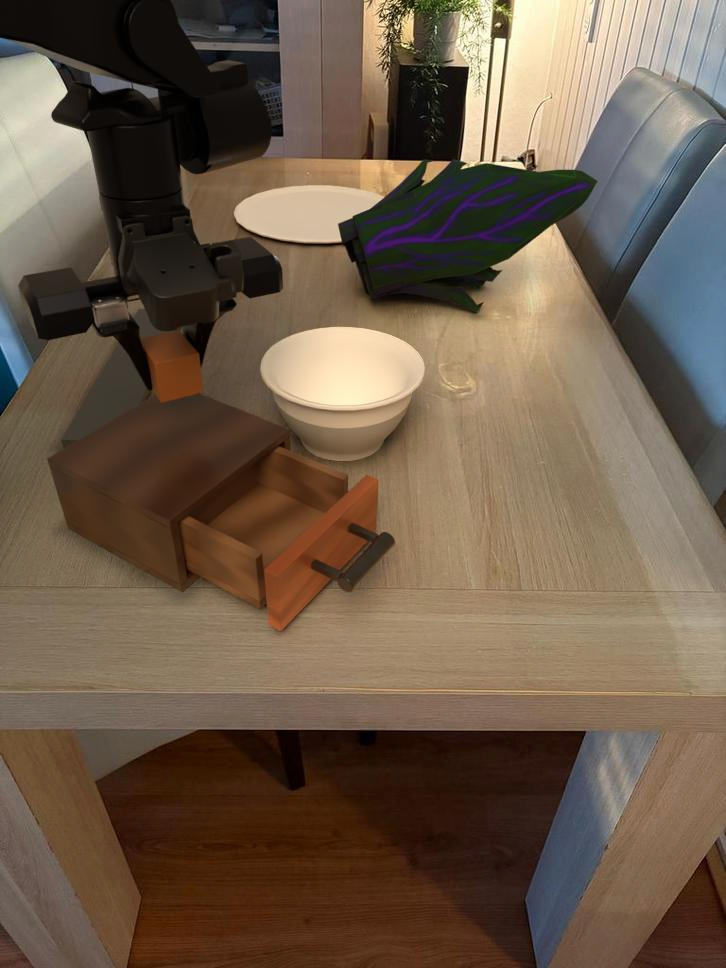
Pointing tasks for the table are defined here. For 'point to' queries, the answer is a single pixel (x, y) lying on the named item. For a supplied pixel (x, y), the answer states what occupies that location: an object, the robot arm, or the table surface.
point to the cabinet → (157, 476)
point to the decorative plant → (456, 227)
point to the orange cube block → (172, 366)
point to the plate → (303, 212)
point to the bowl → (342, 387)
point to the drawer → (285, 533)
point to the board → (112, 389)
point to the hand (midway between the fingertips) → (171, 382)
